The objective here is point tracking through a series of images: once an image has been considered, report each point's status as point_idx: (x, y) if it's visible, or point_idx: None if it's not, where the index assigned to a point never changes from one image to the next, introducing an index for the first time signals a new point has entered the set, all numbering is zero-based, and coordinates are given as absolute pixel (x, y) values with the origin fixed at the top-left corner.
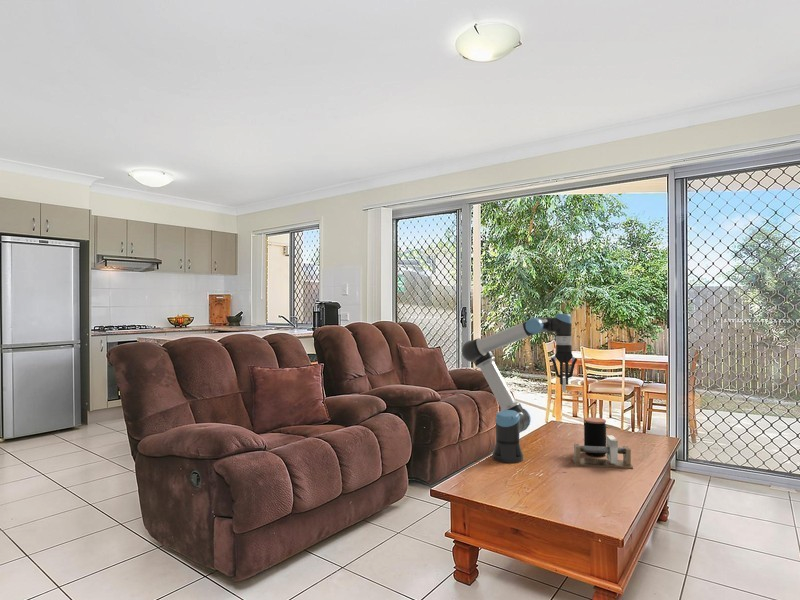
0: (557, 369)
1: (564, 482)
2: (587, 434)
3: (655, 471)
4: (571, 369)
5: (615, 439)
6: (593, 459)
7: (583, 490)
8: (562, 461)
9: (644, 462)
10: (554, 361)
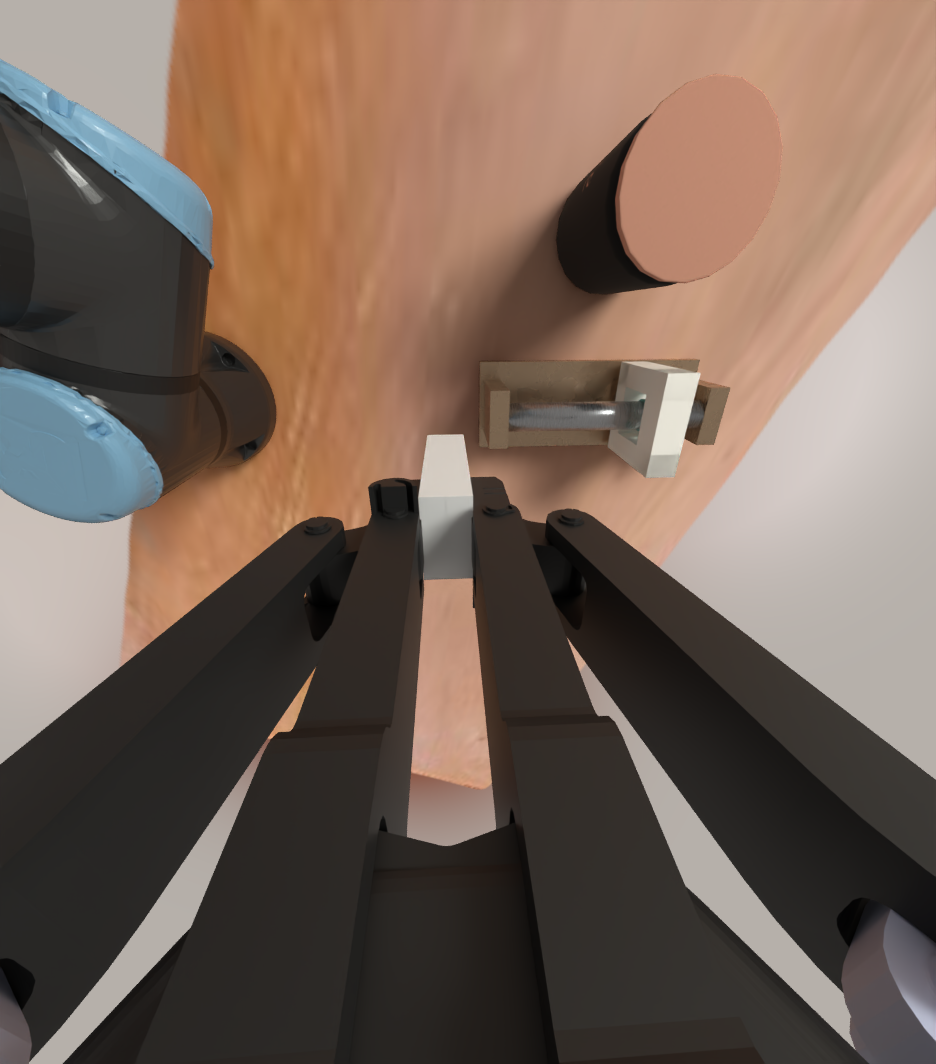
0: (285, 708)
1: (424, 602)
2: (593, 258)
3: (738, 455)
4: (621, 697)
5: (674, 458)
6: (562, 374)
7: (466, 641)
8: (435, 396)
9: (765, 344)
10: (28, 1026)
